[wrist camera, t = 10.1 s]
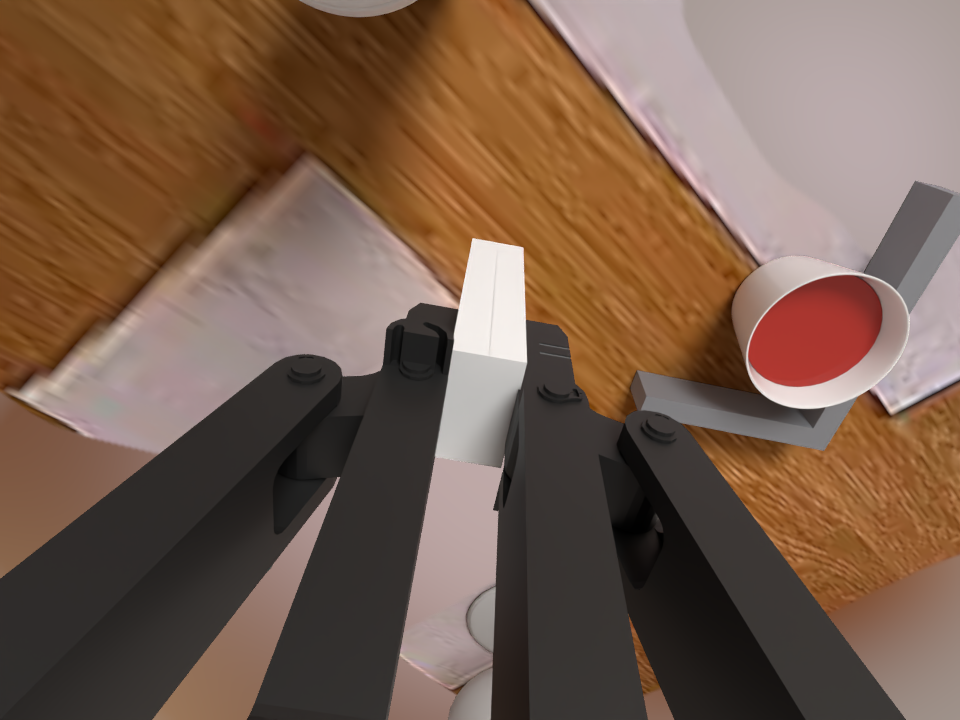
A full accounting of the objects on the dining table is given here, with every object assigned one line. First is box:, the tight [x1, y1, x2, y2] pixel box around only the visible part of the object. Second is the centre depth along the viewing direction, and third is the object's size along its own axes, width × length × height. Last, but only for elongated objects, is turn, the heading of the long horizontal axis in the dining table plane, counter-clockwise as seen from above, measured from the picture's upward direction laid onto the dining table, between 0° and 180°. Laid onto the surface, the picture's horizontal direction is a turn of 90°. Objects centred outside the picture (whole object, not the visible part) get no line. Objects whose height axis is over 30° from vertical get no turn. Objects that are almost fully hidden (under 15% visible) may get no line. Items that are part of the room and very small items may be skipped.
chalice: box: [448, 586, 496, 720], centre depth 50 cm, size 14×14×15 cm
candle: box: [731, 256, 910, 409], centre depth 36 cm, size 9×9×6 cm
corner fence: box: [630, 181, 960, 451], centre depth 37 cm, size 18×14×4 cm
